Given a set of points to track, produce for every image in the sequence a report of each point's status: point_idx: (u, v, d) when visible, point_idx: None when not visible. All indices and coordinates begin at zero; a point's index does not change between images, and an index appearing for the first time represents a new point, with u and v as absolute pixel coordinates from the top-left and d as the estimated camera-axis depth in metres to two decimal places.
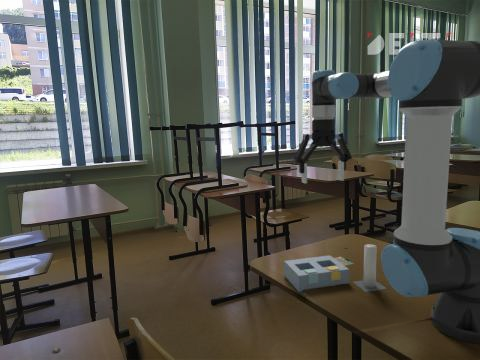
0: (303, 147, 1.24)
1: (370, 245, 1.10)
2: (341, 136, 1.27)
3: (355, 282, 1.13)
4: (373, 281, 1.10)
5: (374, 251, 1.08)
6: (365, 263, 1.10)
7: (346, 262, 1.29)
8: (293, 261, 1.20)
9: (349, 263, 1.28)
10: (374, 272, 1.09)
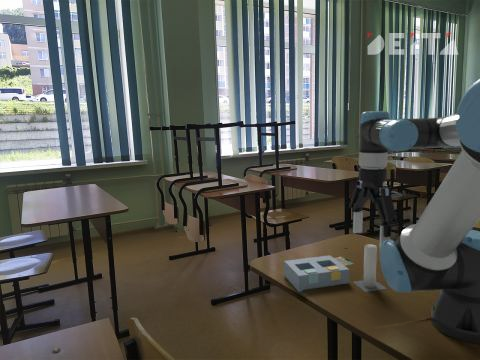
0: (353, 193, 1.14)
1: (370, 245, 1.10)
2: (381, 193, 1.01)
3: (355, 282, 1.13)
4: (373, 281, 1.10)
5: (374, 251, 1.08)
6: (365, 263, 1.10)
7: (346, 262, 1.29)
8: (293, 261, 1.20)
9: (349, 263, 1.28)
10: (374, 272, 1.09)
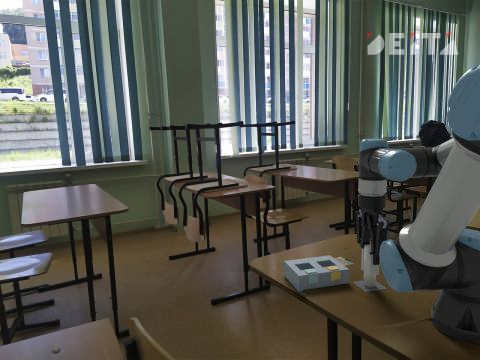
0: (357, 226, 1.14)
1: (370, 245, 1.10)
2: (379, 225, 1.03)
3: (355, 282, 1.13)
4: (373, 281, 1.10)
5: None
6: (365, 263, 1.10)
7: (346, 262, 1.29)
8: (293, 261, 1.20)
9: (349, 263, 1.28)
10: None
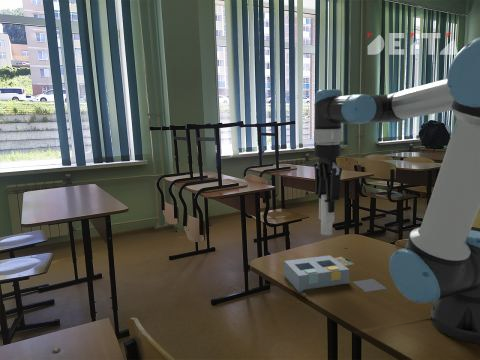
0: (315, 178, 1.18)
1: None
2: (332, 172, 1.07)
3: (355, 282, 1.13)
4: (329, 229, 1.14)
5: None
6: (322, 212, 1.14)
7: (346, 262, 1.29)
8: (293, 261, 1.20)
9: (349, 263, 1.28)
10: None
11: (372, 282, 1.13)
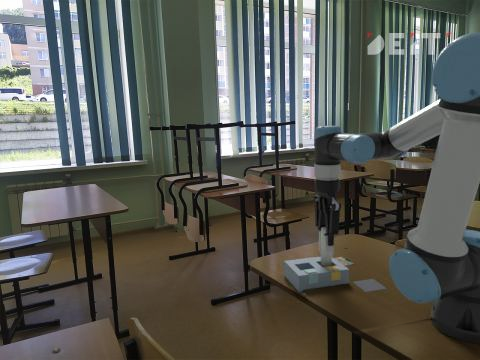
0: (315, 210, 1.19)
1: None
2: (332, 207, 1.08)
3: (355, 282, 1.13)
4: (329, 261, 1.16)
5: None
6: (321, 244, 1.16)
7: (346, 262, 1.29)
8: (293, 261, 1.20)
9: (349, 263, 1.28)
10: None
11: (372, 282, 1.13)
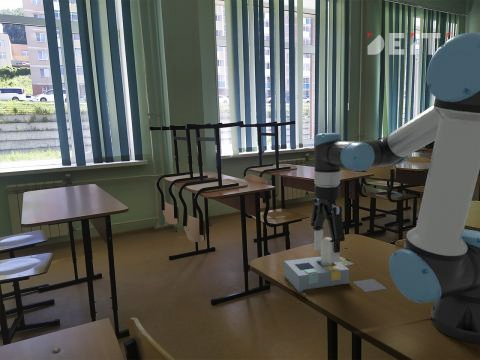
0: (313, 211, 1.21)
1: (327, 238, 1.16)
2: (332, 211, 1.08)
3: (355, 282, 1.13)
4: None
5: None
6: (322, 255, 1.16)
7: (346, 262, 1.29)
8: (293, 261, 1.20)
9: (349, 263, 1.28)
10: (330, 263, 1.16)
11: (372, 282, 1.13)
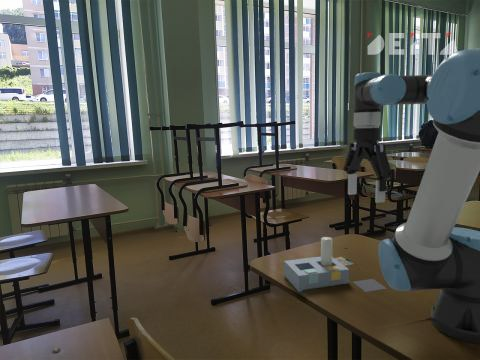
0: (348, 156, 1.19)
1: (326, 238, 1.16)
2: (376, 149, 1.06)
3: (355, 282, 1.13)
4: None
5: (330, 243, 1.14)
6: (322, 255, 1.16)
7: (346, 262, 1.29)
8: (293, 261, 1.20)
9: (349, 263, 1.28)
10: (330, 263, 1.16)
11: (372, 282, 1.13)
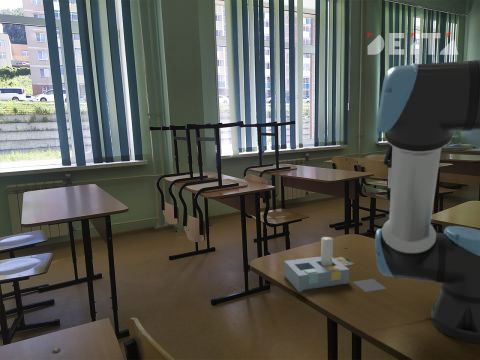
0: (388, 150, 1.21)
1: (327, 238, 1.16)
2: None
3: (355, 282, 1.13)
4: None
5: (330, 243, 1.15)
6: (322, 255, 1.16)
7: (346, 262, 1.29)
8: (293, 261, 1.20)
9: (349, 263, 1.28)
10: (330, 263, 1.16)
11: (372, 282, 1.13)
